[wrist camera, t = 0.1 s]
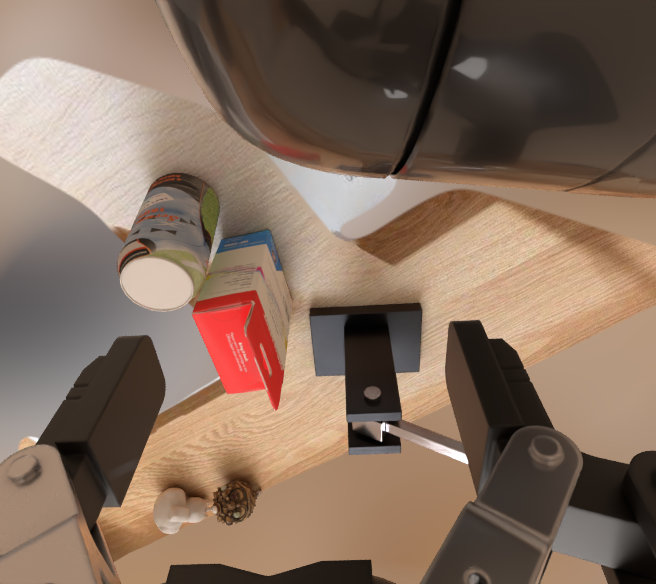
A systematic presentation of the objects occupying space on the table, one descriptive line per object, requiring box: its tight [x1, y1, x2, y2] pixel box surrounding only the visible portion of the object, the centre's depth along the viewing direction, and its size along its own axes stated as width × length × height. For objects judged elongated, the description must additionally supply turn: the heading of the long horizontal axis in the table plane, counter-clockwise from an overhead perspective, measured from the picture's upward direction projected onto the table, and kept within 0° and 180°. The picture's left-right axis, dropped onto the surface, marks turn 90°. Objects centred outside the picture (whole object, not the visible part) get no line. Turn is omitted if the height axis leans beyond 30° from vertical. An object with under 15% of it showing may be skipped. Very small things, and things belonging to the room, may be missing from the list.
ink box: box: [192, 230, 292, 412], centre depth 40 cm, size 8×5×15 cm, turn 12°
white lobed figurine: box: [153, 487, 212, 534], centre depth 64 cm, size 5×7×8 cm
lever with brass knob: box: [352, 420, 468, 464], centre depth 39 cm, size 13×3×3 cm, turn 94°
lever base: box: [309, 303, 422, 455], centre depth 45 cm, size 11×8×13 cm
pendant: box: [211, 481, 261, 525], centre depth 62 cm, size 5×8×5 cm
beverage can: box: [117, 173, 220, 311], centre depth 38 cm, size 6×7×12 cm
